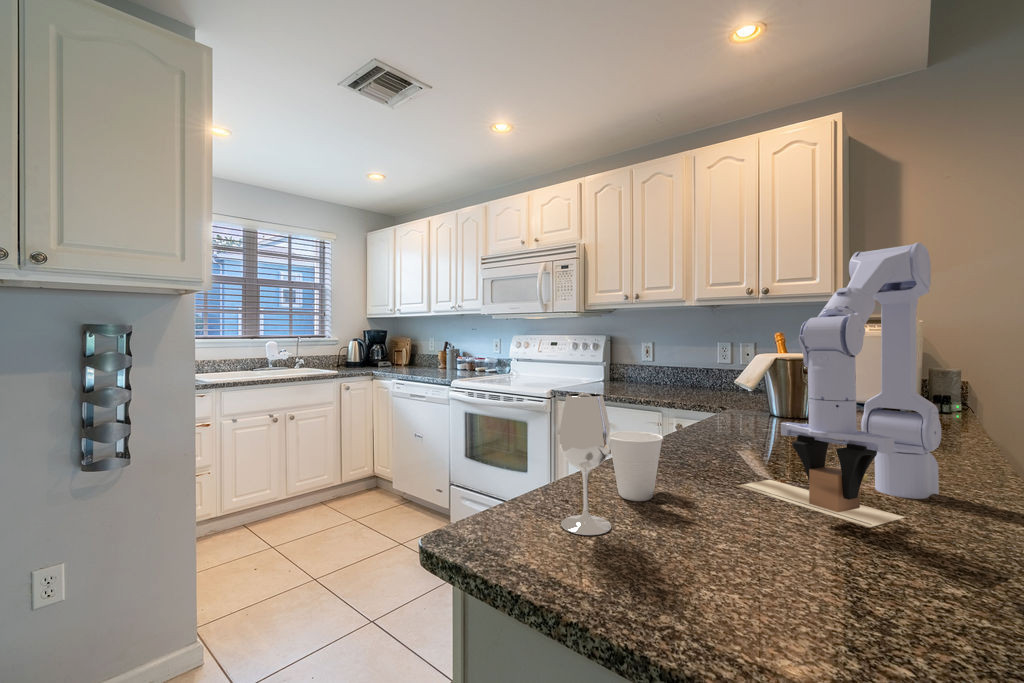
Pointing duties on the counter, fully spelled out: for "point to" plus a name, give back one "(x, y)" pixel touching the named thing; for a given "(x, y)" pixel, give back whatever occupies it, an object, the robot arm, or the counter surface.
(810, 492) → the block
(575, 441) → the wineglass
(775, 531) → the counter surface
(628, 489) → the cup
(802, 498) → the board
